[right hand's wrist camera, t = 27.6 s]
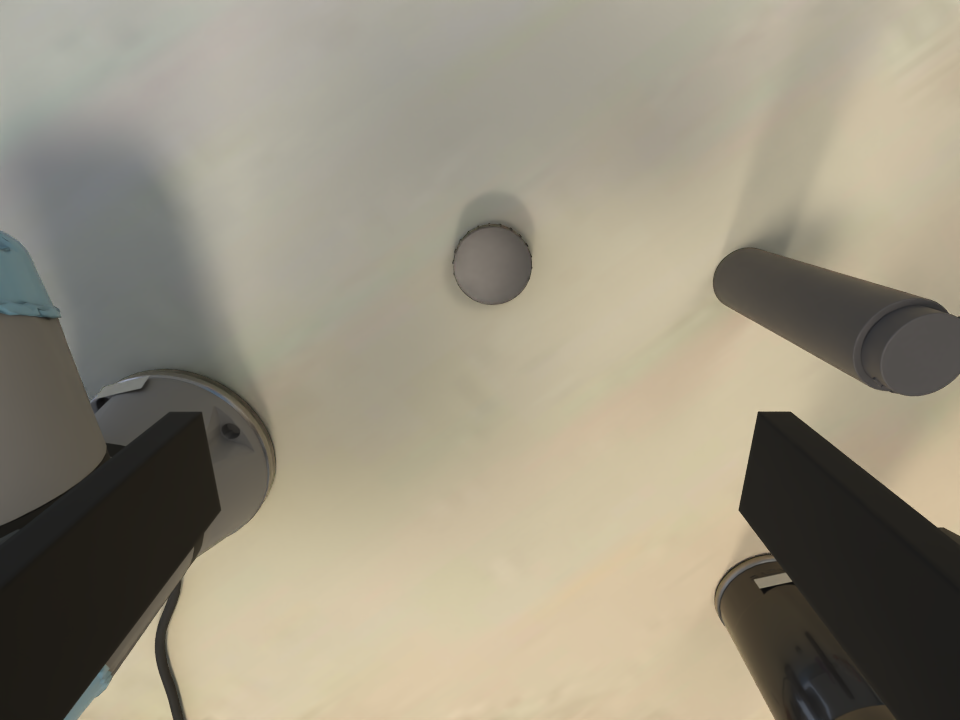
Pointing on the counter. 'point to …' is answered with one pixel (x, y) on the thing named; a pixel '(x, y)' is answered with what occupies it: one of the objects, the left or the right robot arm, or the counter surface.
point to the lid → (492, 264)
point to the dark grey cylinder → (845, 320)
